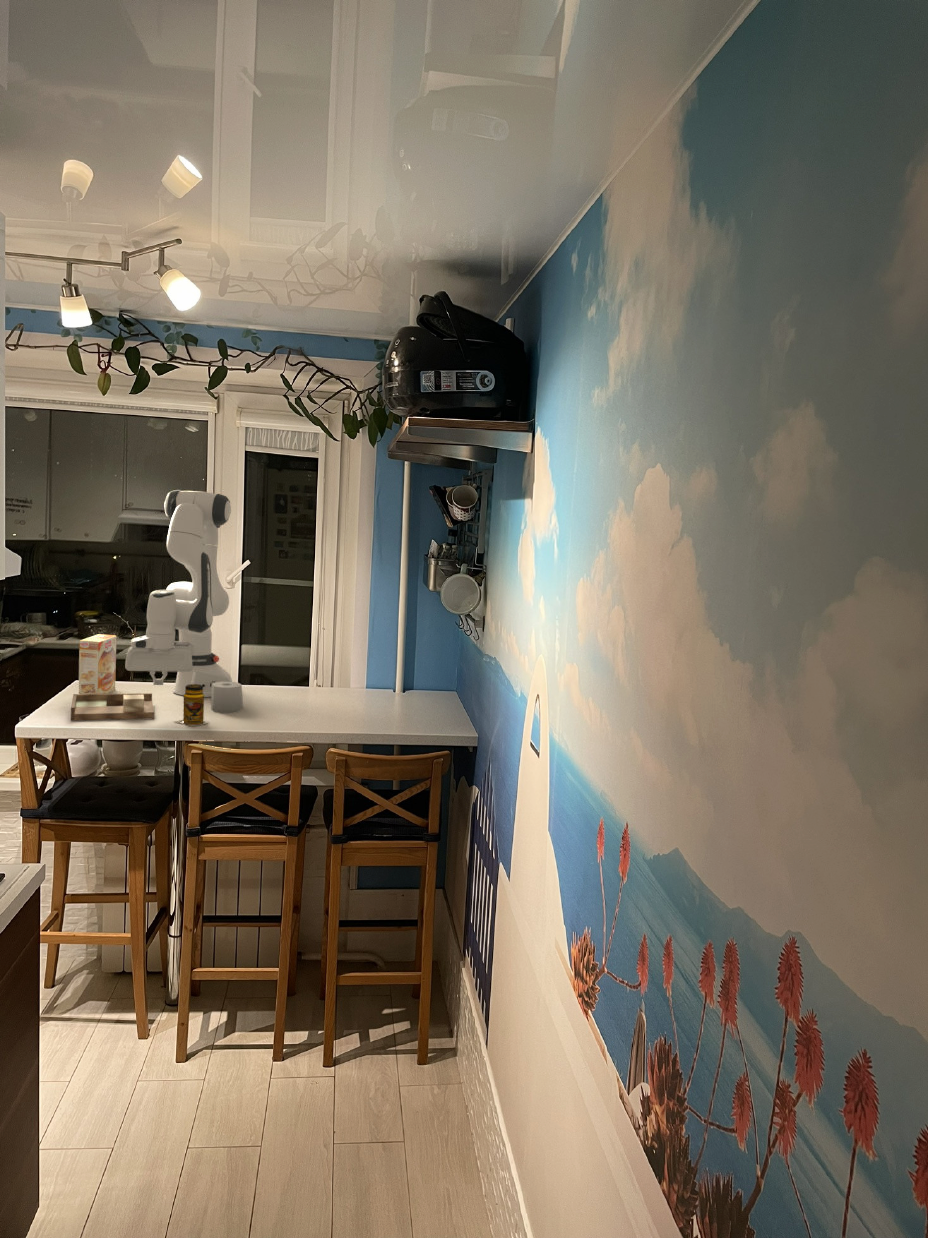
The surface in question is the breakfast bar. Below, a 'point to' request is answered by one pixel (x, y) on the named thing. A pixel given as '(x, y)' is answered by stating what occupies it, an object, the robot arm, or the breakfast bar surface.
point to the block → (133, 703)
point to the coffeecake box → (97, 664)
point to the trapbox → (107, 707)
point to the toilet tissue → (226, 697)
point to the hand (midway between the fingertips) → (158, 684)
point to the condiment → (193, 706)
